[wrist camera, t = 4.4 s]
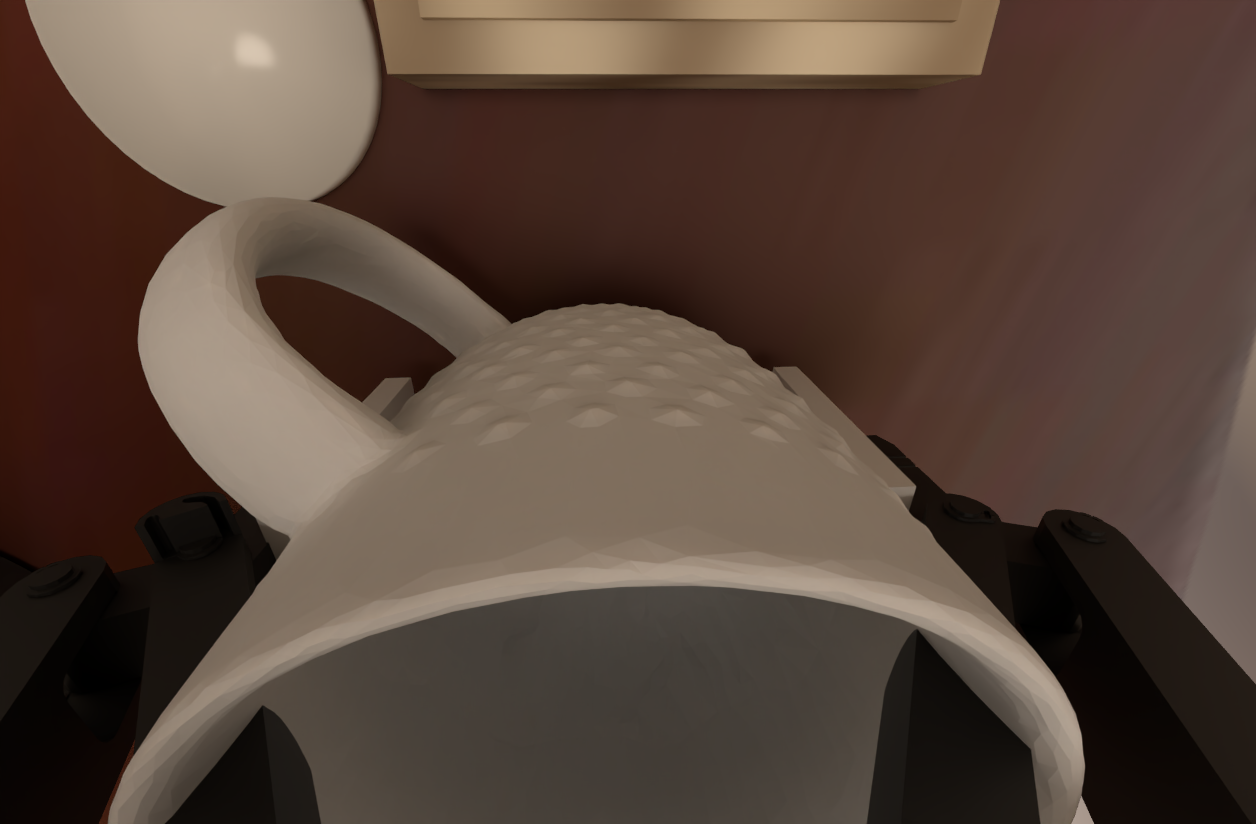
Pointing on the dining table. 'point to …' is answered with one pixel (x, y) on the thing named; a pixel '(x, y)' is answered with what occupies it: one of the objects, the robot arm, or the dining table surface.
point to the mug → (547, 563)
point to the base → (684, 43)
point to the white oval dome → (224, 88)
